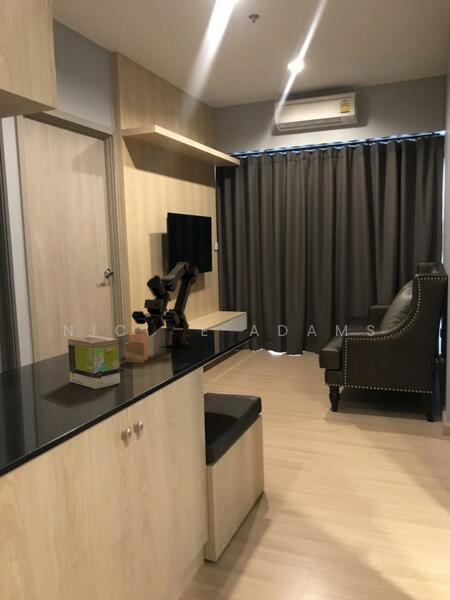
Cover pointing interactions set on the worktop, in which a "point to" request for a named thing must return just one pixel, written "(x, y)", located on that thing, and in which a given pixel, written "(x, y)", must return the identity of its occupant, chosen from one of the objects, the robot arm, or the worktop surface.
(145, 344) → the slider
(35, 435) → the worktop surface
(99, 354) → the tea box
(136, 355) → the track
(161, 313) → the robot arm
